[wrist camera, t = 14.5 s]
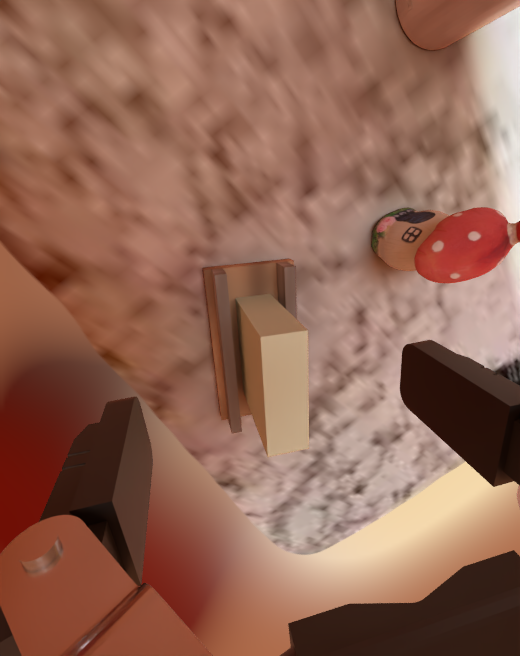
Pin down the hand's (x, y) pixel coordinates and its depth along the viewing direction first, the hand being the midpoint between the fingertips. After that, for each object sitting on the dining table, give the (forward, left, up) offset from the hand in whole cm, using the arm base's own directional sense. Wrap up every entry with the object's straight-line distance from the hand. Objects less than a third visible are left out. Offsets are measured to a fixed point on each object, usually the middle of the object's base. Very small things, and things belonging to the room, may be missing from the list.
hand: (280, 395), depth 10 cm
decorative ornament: (-24, 0, -30) cm, 38 cm away
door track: (-5, +11, -30) cm, 32 cm away
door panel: (-5, +11, -28) cm, 31 cm away
